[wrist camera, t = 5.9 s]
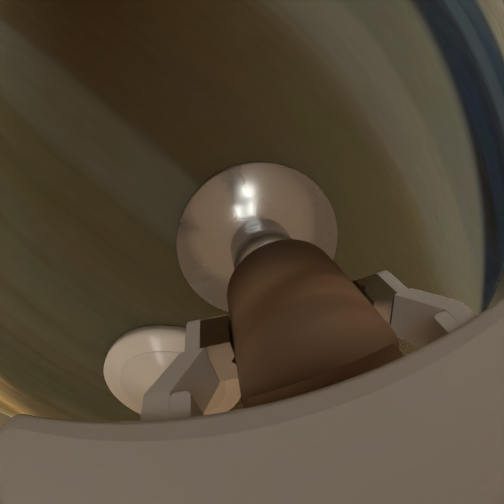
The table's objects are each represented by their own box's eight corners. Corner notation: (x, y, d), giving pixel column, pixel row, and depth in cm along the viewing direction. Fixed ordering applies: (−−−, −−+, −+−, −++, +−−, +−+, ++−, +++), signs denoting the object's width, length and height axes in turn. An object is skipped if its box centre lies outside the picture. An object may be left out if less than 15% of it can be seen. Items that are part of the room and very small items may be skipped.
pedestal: (246, 127, 15) (261, 122, 10) (358, 226, 18) (399, 256, 14) (149, 258, 17) (130, 300, 12) (266, 328, 20) (281, 376, 16)
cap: (328, 223, 11) (421, 305, 5) (341, 315, 13) (400, 407, 7) (210, 261, 10) (215, 382, 5) (246, 348, 12) (269, 457, 7)
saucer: (140, 297, 18) (136, 309, 17) (269, 365, 22) (273, 376, 21) (91, 380, 21) (87, 391, 19) (196, 425, 25) (196, 435, 24)
